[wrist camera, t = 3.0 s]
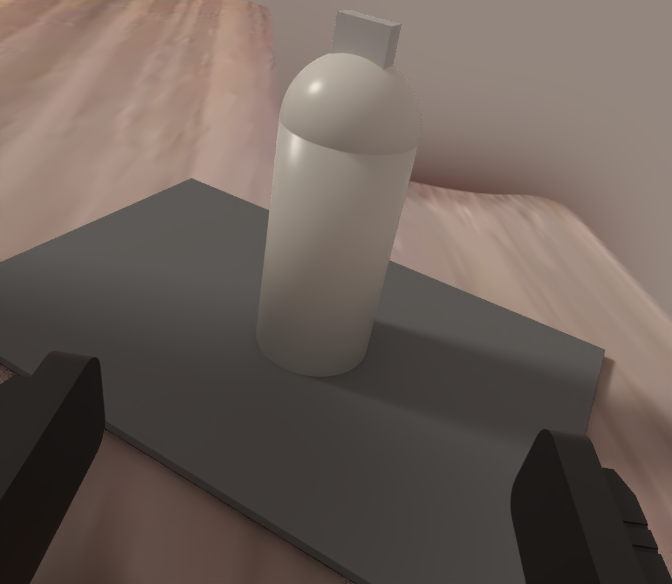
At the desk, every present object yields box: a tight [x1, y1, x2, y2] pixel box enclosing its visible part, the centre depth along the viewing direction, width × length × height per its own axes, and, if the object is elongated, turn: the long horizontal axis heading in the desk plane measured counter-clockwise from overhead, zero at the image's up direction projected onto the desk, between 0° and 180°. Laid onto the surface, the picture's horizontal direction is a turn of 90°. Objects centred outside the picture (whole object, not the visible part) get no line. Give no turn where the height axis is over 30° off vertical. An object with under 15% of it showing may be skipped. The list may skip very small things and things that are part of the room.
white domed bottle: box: [256, 10, 421, 377], centre depth 21 cm, size 5×5×12 cm
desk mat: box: [0, 178, 605, 584], centre depth 25 cm, size 24×16×1 cm, turn 61°
